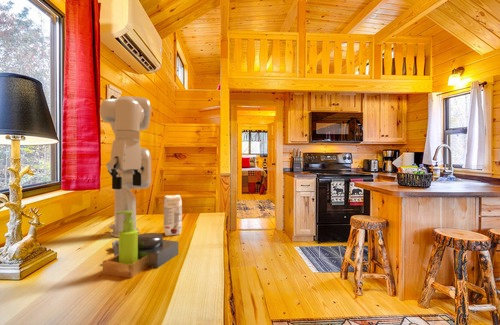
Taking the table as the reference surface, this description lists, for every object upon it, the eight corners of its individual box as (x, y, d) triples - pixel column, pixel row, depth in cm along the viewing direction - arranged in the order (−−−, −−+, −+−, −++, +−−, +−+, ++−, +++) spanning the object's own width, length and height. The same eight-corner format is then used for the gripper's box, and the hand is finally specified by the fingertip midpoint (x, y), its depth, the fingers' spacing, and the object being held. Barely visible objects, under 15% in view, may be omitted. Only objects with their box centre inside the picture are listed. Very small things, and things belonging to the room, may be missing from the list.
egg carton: (115, 254, 107) (115, 244, 107) (110, 249, 113) (110, 239, 112) (142, 248, 113) (142, 238, 113) (137, 243, 119) (137, 234, 119)
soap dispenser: (119, 266, 94) (119, 209, 94) (140, 266, 95) (140, 209, 95) (112, 273, 89) (112, 213, 88) (134, 273, 89) (134, 213, 89)
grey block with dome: (93, 272, 89) (93, 248, 89) (139, 249, 112) (139, 230, 111) (140, 279, 85) (140, 254, 85) (178, 254, 107) (178, 233, 107)
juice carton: (182, 235, 132) (182, 196, 132) (163, 236, 130) (164, 197, 129) (180, 230, 140) (180, 194, 139) (163, 232, 137) (163, 195, 136)
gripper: (135, 138, 100) (135, 184, 101) (97, 135, 84) (97, 190, 84) (152, 138, 98) (152, 184, 99) (118, 135, 82) (118, 191, 82)
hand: (127, 187), depth 92 cm, fingers open, 9 cm apart
